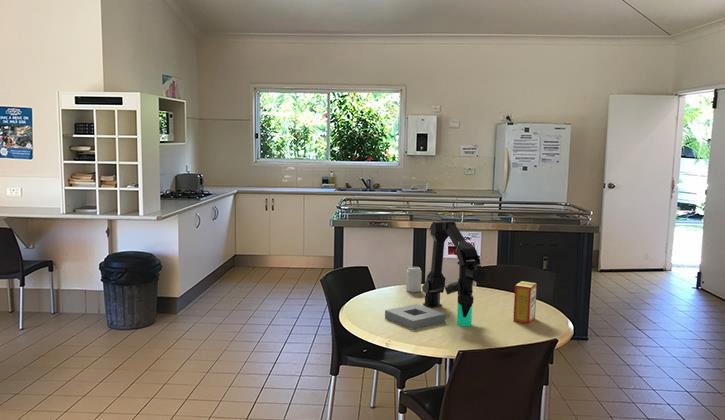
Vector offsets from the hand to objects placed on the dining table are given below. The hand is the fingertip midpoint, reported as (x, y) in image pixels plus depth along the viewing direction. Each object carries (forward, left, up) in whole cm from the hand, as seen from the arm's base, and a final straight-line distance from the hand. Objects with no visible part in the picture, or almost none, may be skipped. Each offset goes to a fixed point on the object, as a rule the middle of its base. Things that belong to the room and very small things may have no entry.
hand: (464, 313), depth 243 cm
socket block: (+14, -15, -4) cm, 21 cm away
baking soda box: (-26, +10, -4) cm, 28 cm away
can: (-18, -53, -4) cm, 56 cm away
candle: (0, 0, -4) cm, 4 cm away
